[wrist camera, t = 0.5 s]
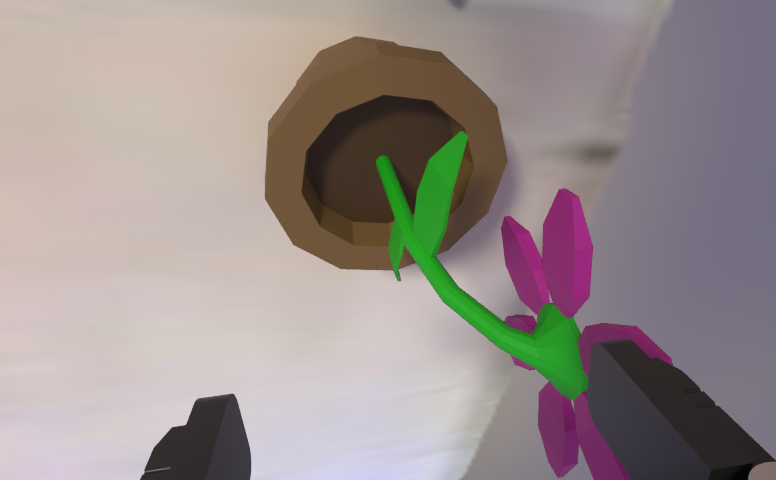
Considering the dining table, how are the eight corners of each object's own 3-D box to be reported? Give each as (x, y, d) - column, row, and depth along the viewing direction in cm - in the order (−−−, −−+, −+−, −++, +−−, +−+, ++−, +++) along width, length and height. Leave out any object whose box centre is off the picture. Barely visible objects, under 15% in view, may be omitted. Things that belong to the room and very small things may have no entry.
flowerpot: (453, 176, 42) (685, 580, 19) (284, 202, 40) (308, 680, 17) (459, -9, 33) (921, 333, 10) (240, 16, 31) (169, 496, 8)
